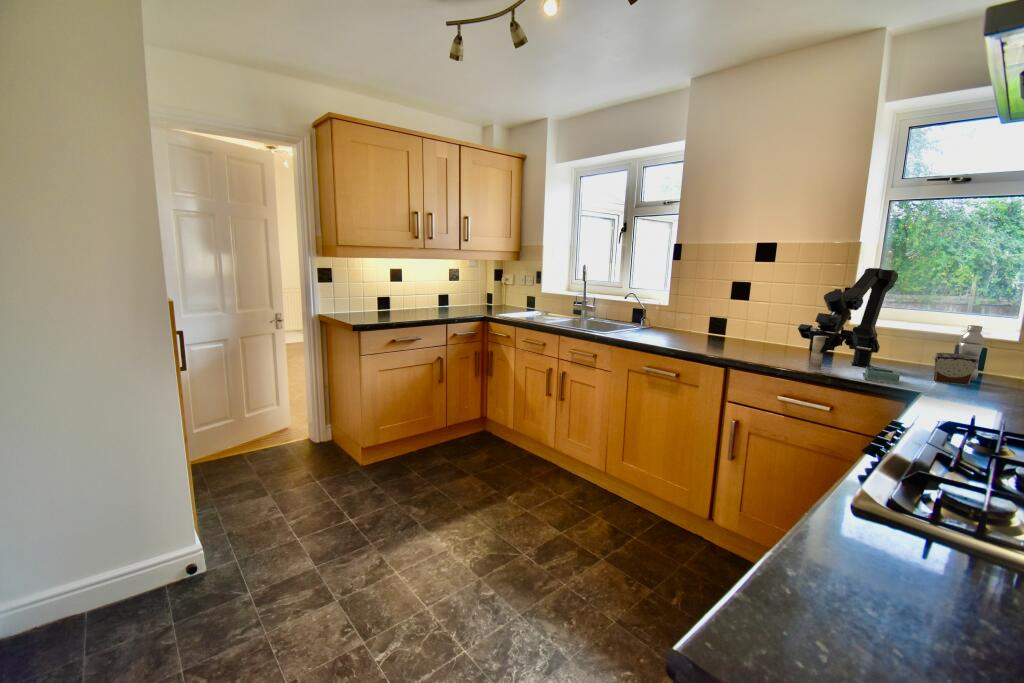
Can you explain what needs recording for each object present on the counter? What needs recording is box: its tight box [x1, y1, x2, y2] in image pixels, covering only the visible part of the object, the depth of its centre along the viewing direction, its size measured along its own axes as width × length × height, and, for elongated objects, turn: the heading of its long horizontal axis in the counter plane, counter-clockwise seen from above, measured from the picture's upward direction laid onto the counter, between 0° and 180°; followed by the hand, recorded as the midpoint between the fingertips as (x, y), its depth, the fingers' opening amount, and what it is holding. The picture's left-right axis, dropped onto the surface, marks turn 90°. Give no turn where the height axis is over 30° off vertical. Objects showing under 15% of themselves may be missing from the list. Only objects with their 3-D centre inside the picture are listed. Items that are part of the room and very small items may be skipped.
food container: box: [932, 352, 980, 386], centre depth 164 cm, size 12×6×10 cm, turn 71°
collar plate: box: [862, 366, 902, 385], centre depth 163 cm, size 10×10×3 cm
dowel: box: [808, 336, 827, 371], centre depth 170 cm, size 4×4×12 cm
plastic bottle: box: [958, 324, 986, 382], centre depth 166 cm, size 6×7×20 cm
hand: (815, 351), depth 169 cm, fingers closed on dowel, 4 cm apart
